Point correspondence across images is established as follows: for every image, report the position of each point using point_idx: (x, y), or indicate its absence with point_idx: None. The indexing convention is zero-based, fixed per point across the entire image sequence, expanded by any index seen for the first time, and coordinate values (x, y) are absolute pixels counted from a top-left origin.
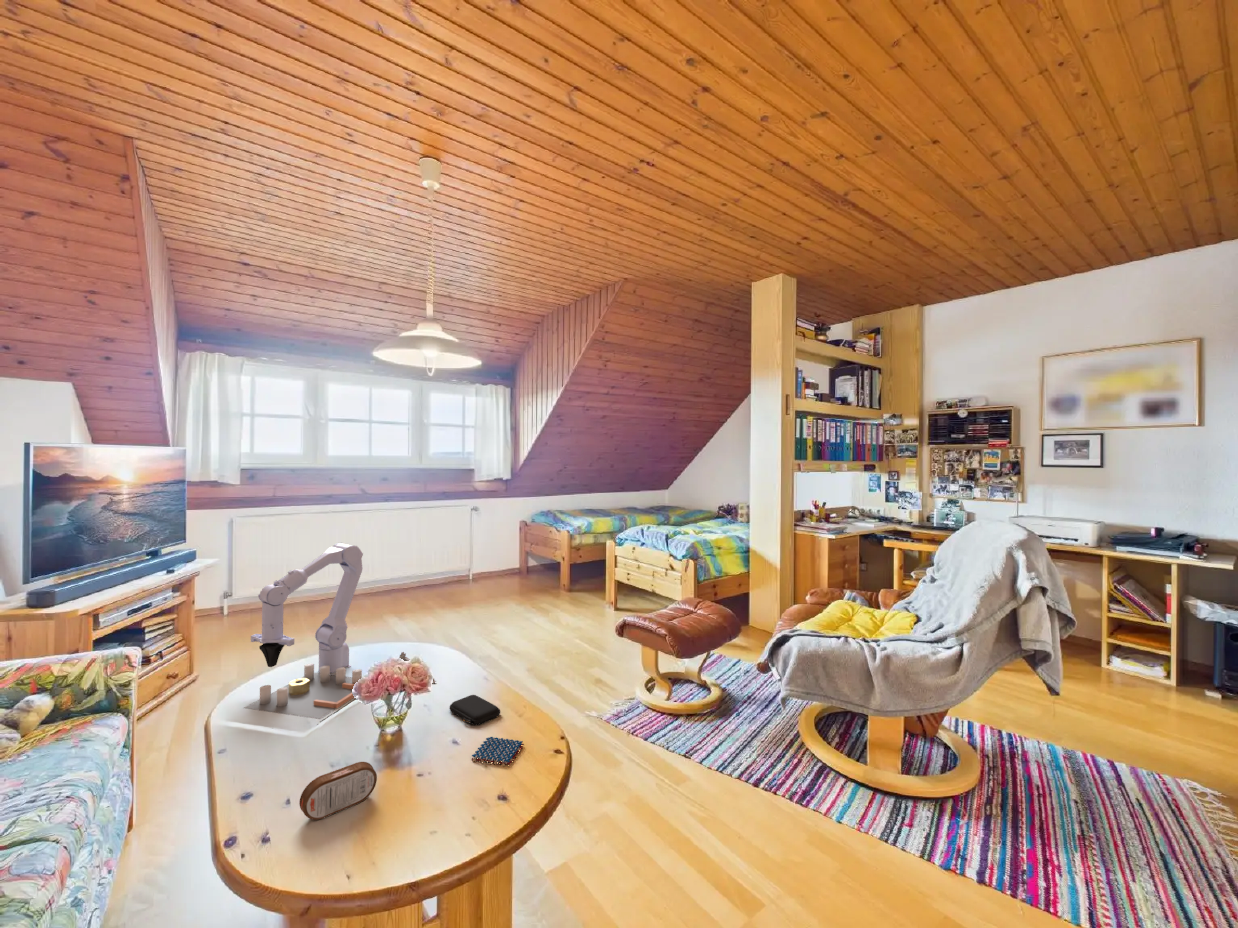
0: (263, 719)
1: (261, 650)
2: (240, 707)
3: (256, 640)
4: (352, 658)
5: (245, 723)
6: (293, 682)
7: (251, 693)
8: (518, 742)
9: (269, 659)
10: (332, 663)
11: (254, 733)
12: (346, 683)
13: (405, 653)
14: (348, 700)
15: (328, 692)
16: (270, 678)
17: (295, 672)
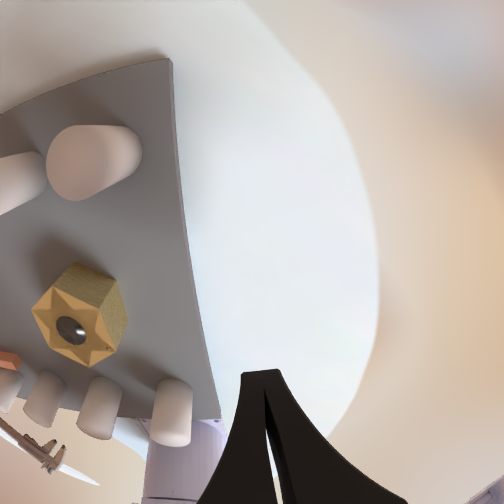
0: (29, 69)
1: (370, 487)
2: (227, 84)
3: (480, 502)
4: None
5: (68, 13)
6: (83, 317)
7: (318, 227)
8: None
9: (253, 425)
10: (149, 453)
11: (2, 14)
12: (8, 366)
13: (42, 469)
14: None
15: (9, 318)
16: (350, 351)
17: None
